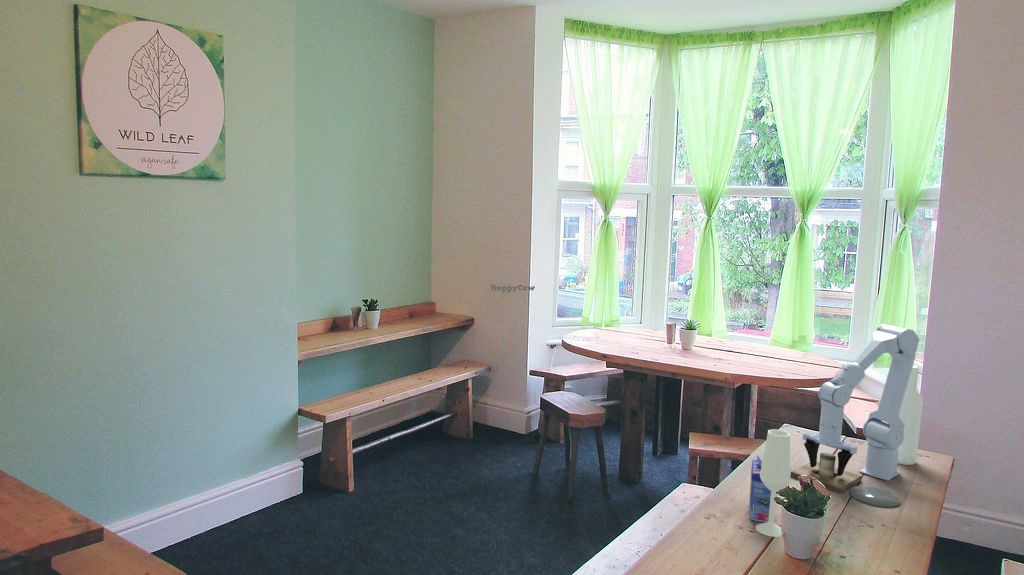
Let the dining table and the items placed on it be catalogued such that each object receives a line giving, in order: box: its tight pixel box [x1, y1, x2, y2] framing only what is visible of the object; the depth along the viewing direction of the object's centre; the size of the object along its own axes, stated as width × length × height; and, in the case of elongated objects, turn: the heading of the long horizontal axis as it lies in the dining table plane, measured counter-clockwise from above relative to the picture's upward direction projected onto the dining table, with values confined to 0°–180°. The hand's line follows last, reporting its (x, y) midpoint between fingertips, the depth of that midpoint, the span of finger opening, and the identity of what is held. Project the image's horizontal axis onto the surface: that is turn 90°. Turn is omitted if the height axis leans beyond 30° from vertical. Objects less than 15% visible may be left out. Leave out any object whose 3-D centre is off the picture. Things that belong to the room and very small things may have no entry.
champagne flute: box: [755, 429, 791, 538], centre depth 160 cm, size 7×7×24 cm
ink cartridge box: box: [748, 455, 771, 523], centre depth 169 cm, size 10×6×14 cm, turn 161°
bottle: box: [897, 365, 924, 466], centre depth 209 cm, size 8×8×30 cm
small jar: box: [818, 452, 837, 479], centre depth 193 cm, size 4×4×7 cm
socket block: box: [790, 461, 863, 494], centre depth 194 cm, size 14×14×2 cm
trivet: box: [849, 485, 901, 508], centre depth 182 cm, size 12×12×1 cm
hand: (826, 470), depth 194 cm, fingers open, 7 cm apart
